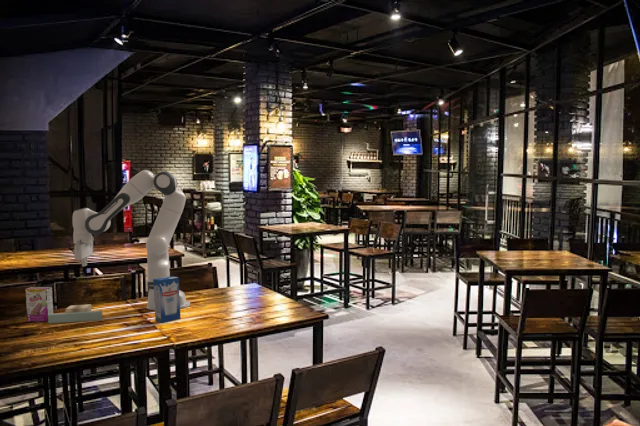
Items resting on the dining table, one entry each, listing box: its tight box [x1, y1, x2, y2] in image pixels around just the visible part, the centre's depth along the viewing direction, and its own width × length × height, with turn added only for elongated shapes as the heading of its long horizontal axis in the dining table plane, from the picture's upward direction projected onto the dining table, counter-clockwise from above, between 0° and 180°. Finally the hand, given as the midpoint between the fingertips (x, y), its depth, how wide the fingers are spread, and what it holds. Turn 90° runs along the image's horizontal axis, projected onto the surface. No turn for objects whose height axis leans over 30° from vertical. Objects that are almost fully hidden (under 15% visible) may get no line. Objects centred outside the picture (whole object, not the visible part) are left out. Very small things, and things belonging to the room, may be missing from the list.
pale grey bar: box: [47, 310, 103, 324], centre depth 261 cm, size 24×3×4 cm, turn 98°
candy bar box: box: [25, 286, 54, 323], centre depth 263 cm, size 11×5×16 cm, turn 84°
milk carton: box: [153, 275, 182, 324], centre depth 256 cm, size 10×6×20 cm, turn 134°
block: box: [64, 303, 93, 313], centre depth 266 cm, size 10×8×6 cm
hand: (84, 266), depth 279 cm, fingers closed
